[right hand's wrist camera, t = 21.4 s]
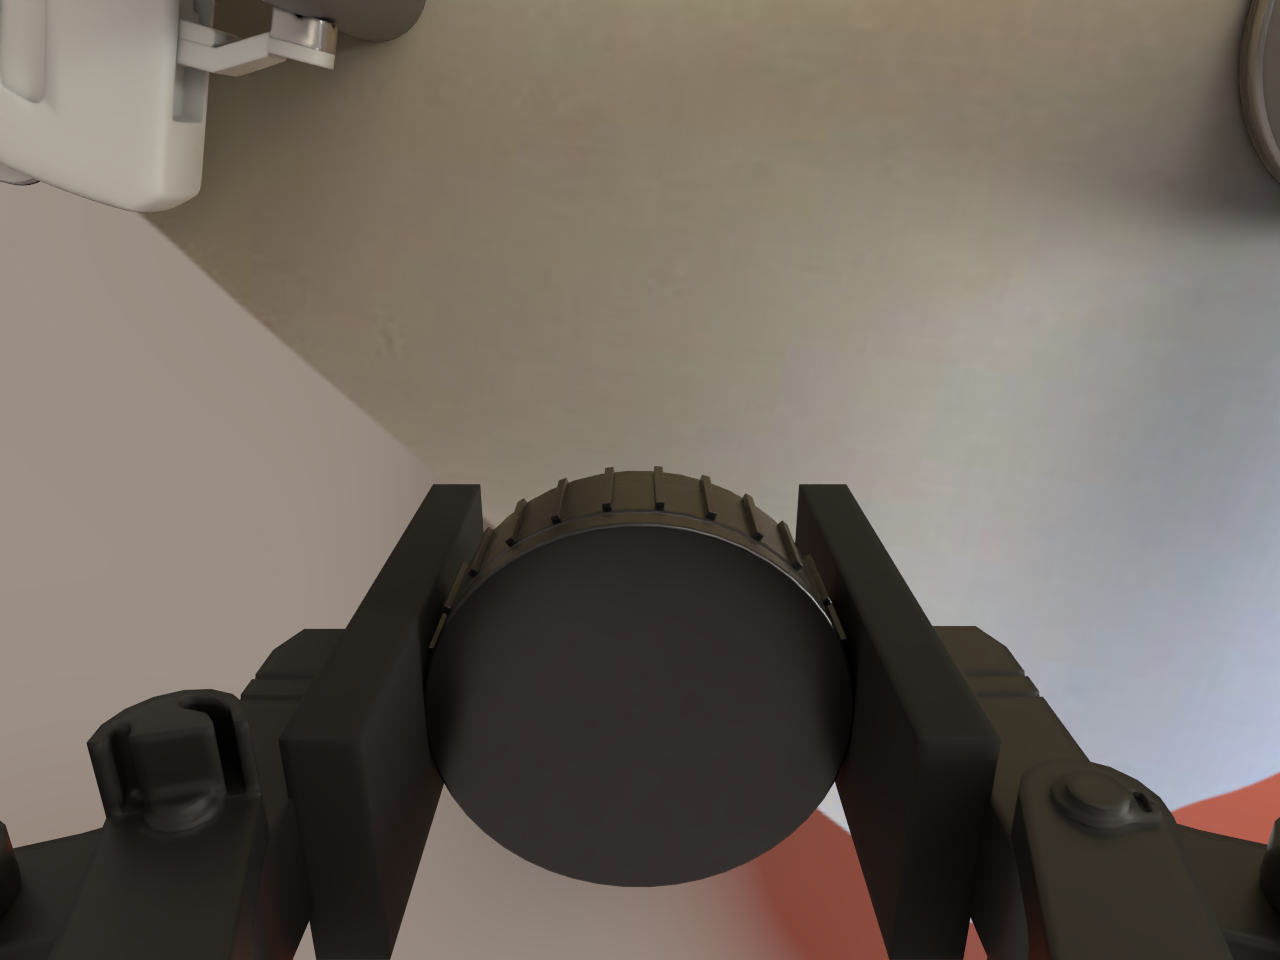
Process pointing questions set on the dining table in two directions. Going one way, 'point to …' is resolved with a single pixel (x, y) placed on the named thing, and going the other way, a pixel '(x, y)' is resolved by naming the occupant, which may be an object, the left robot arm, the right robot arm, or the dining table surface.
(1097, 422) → the dining table surface
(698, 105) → the dining table surface
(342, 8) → the dark gray cylinder
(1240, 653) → the dining table surface
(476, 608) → the lid
